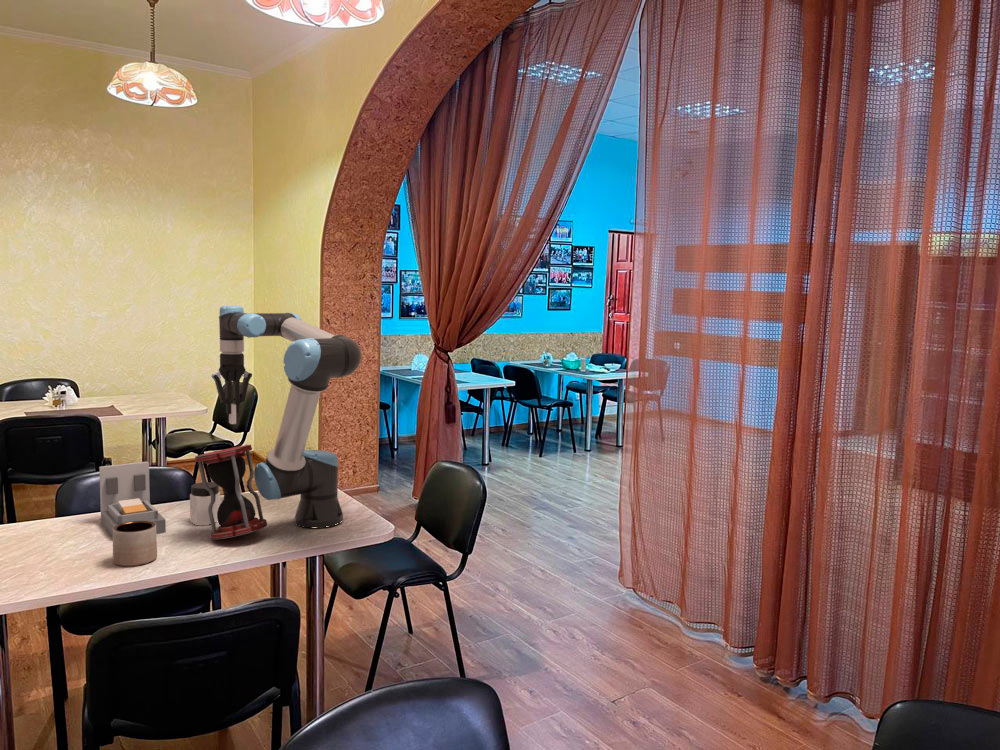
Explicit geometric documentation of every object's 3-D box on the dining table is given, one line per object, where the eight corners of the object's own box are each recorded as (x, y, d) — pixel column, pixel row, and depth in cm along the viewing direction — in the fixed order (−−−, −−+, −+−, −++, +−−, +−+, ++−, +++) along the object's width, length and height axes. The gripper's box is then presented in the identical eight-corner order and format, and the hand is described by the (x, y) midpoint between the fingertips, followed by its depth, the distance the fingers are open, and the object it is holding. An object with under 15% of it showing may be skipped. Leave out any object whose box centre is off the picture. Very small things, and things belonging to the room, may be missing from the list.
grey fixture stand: (165, 532, 231) (164, 474, 229) (115, 540, 222) (113, 480, 220) (148, 515, 247) (147, 461, 245) (101, 523, 238) (99, 466, 236)
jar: (186, 521, 242) (185, 484, 241) (211, 516, 248) (210, 480, 247) (199, 528, 236) (198, 490, 235) (224, 522, 242) (223, 485, 241)
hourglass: (222, 541, 216) (204, 455, 216) (204, 538, 229) (187, 457, 228) (275, 525, 226) (259, 443, 226) (255, 523, 239) (240, 445, 238)
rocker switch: (147, 515, 232) (147, 510, 232) (124, 518, 228) (124, 513, 228) (139, 503, 240) (139, 498, 239) (117, 506, 236) (117, 501, 235)
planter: (107, 559, 207) (106, 525, 206) (148, 550, 215) (147, 517, 214) (121, 570, 200) (120, 535, 199) (163, 561, 207) (162, 527, 206)
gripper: (247, 351, 258) (248, 420, 260) (208, 352, 250) (209, 423, 252) (255, 353, 252) (256, 423, 254) (215, 354, 244) (216, 426, 246)
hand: (232, 423), depth 253 cm, fingers closed
